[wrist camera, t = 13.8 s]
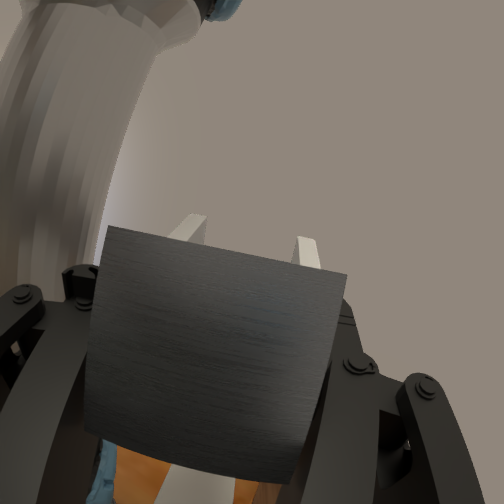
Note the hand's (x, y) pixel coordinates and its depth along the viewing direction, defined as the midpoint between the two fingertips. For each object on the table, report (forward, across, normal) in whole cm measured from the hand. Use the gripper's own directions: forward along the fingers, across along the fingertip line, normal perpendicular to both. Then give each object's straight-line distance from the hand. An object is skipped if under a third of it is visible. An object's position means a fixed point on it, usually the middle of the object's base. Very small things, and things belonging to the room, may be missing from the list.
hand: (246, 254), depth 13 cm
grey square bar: (+1, 0, -6) cm, 6 cm away
